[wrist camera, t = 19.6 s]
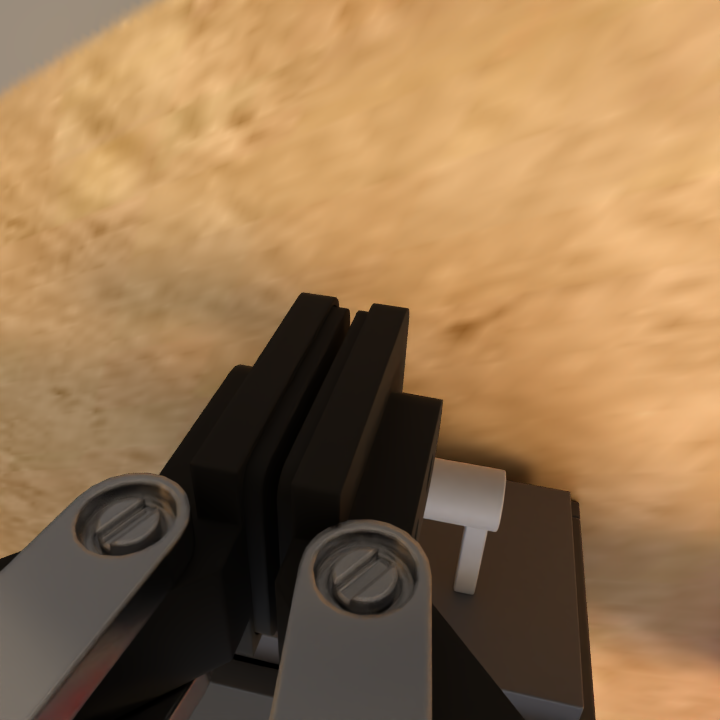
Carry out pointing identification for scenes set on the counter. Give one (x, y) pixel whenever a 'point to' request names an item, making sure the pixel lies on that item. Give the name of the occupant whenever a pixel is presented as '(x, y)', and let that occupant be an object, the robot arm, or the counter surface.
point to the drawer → (501, 584)
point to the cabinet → (257, 683)
